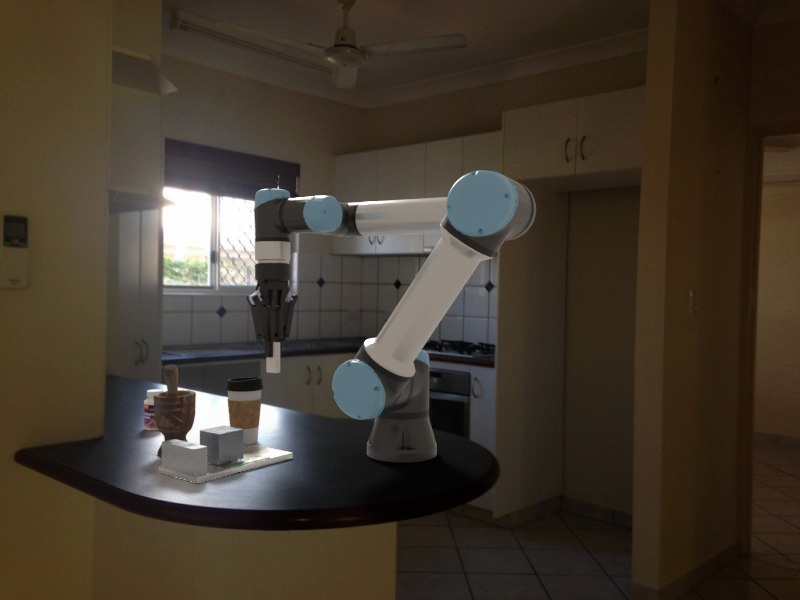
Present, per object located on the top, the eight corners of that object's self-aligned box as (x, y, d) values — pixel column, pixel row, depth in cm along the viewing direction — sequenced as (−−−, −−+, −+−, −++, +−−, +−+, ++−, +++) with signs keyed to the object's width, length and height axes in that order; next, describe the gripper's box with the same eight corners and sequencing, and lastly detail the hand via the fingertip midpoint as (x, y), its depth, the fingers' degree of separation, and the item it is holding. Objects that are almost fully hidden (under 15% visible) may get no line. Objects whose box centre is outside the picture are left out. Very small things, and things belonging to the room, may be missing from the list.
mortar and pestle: (204, 458, 145) (204, 363, 144) (161, 464, 140) (161, 365, 140) (190, 447, 154) (190, 358, 154) (150, 452, 150) (149, 360, 150)
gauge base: (292, 458, 145) (292, 429, 145) (197, 484, 126) (197, 450, 126) (254, 449, 153) (254, 421, 153) (158, 472, 134) (158, 441, 133)
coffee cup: (254, 447, 155) (254, 380, 155) (219, 445, 157) (219, 379, 157) (268, 438, 163) (268, 375, 163) (235, 437, 165) (235, 374, 165)
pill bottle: (139, 430, 172) (139, 391, 172) (152, 426, 177) (151, 388, 177) (158, 431, 171) (158, 392, 171) (170, 427, 176) (170, 389, 176)
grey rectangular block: (250, 460, 137) (250, 430, 137) (226, 467, 132) (226, 435, 132) (224, 454, 142) (224, 425, 142) (199, 460, 137) (199, 430, 137)
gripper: (282, 263, 155) (283, 368, 156) (237, 262, 145) (237, 374, 145) (306, 262, 151) (307, 370, 151) (261, 261, 140) (262, 376, 141)
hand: (273, 372), depth 148 cm, fingers closed
